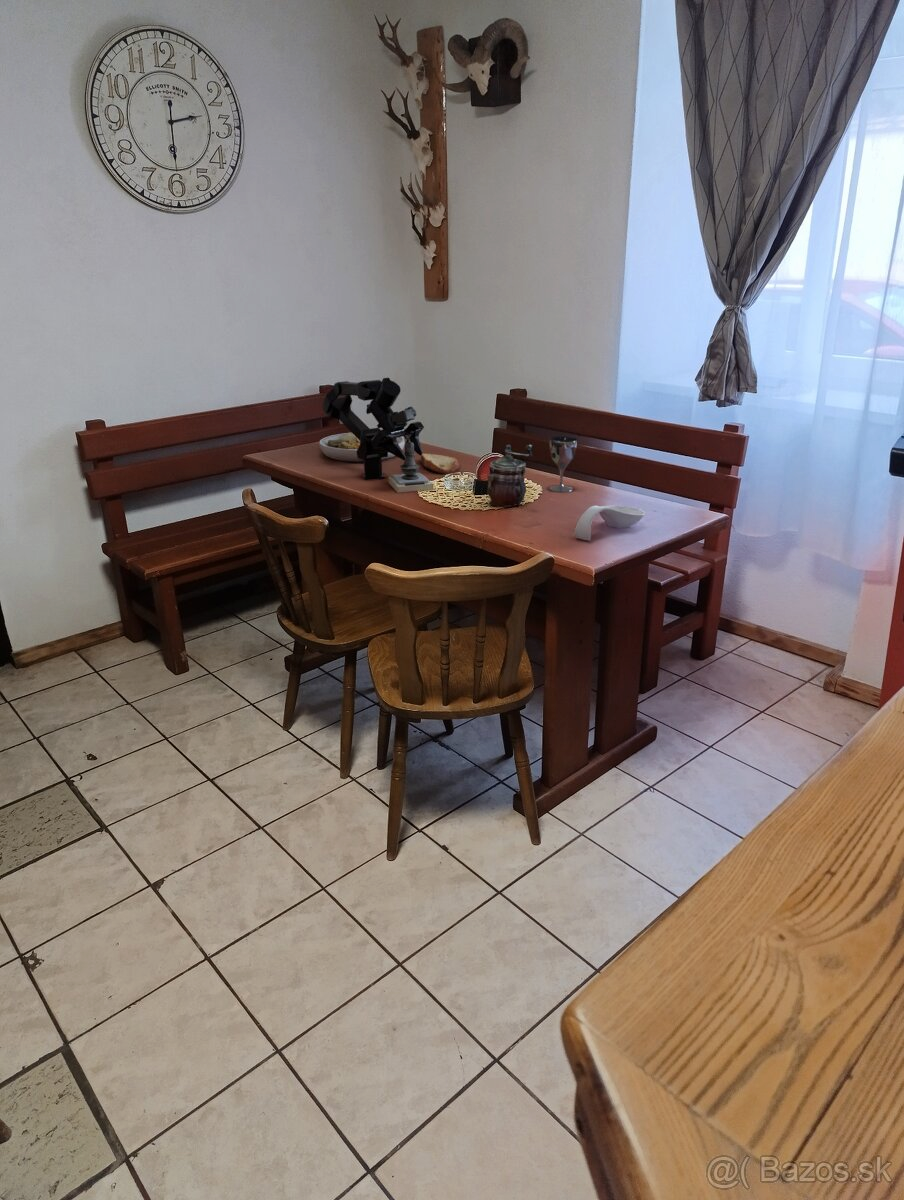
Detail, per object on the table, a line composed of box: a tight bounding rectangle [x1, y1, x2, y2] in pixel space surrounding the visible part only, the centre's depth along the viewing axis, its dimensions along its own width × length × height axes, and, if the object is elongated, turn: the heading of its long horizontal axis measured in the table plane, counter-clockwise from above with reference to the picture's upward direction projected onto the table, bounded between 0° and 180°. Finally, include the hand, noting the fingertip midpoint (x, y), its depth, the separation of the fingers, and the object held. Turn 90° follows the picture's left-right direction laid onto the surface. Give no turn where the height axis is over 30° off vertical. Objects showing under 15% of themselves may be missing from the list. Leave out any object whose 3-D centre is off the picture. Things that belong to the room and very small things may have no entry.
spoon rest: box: [573, 504, 646, 541], centre depth 207 cm, size 24×12×7 cm, turn 137°
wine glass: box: [548, 436, 578, 493], centre depth 242 cm, size 8×8×15 cm
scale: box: [388, 472, 434, 494], centre depth 248 cm, size 12×11×3 cm
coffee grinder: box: [486, 444, 534, 508], centre depth 227 cm, size 13×15×18 cm
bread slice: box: [420, 453, 460, 475], centre depth 271 cm, size 18×18×4 cm
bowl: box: [318, 432, 406, 463], centre depth 288 cm, size 30×30×8 cm
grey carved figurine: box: [399, 439, 420, 480], centre depth 246 cm, size 6×6×12 cm
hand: (413, 456), depth 244 cm, fingers open, 7 cm apart
